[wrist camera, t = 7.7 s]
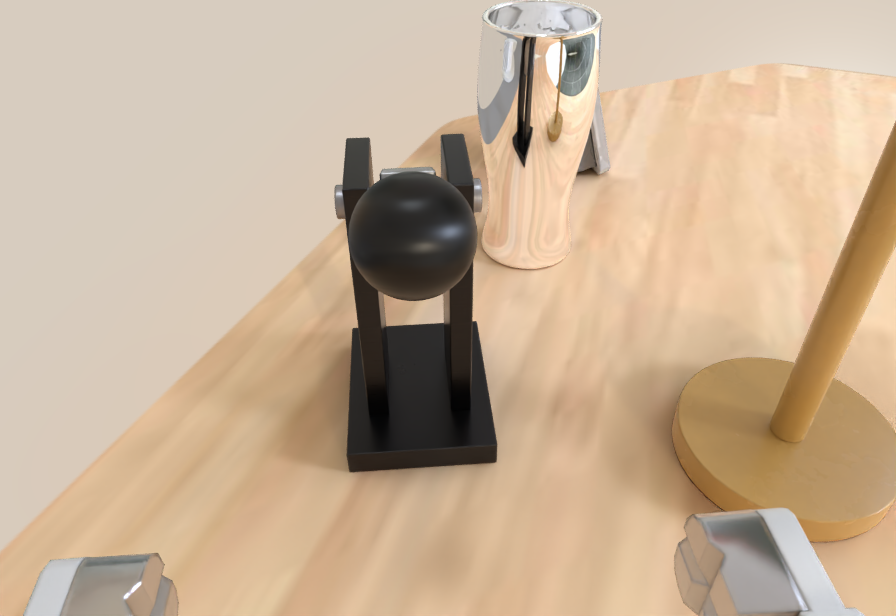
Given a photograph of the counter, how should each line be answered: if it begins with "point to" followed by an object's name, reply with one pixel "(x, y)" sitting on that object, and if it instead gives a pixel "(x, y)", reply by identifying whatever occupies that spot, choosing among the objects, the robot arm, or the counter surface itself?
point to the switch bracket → (415, 354)
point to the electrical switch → (596, 144)
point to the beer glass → (534, 123)
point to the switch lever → (412, 234)
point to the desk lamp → (803, 404)
